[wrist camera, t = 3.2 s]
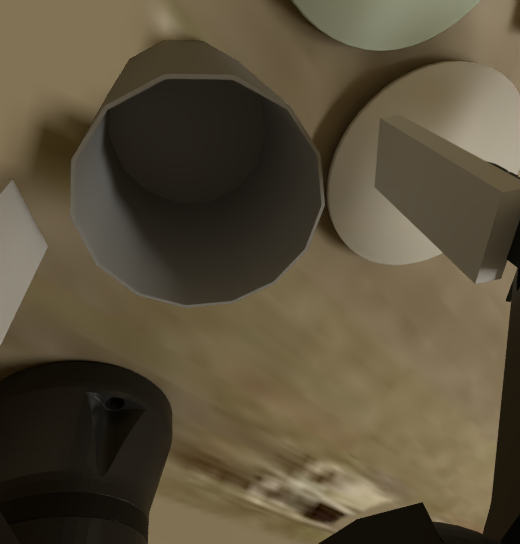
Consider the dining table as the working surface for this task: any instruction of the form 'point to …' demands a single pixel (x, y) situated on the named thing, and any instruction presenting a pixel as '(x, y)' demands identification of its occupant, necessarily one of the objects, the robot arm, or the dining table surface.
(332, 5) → the dish green
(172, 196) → the cup
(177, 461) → the dining table surface
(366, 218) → the white dome
